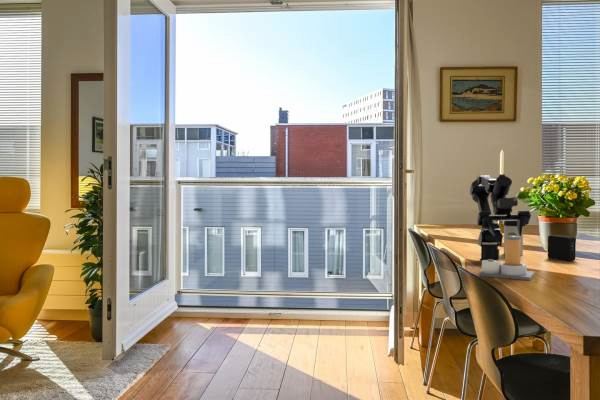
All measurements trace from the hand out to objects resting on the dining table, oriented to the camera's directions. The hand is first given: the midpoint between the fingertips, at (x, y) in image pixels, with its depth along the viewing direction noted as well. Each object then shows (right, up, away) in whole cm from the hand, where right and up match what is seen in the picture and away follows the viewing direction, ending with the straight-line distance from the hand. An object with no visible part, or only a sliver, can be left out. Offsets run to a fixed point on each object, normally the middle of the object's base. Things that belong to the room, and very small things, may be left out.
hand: (507, 235), depth 187 cm
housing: (-3, -14, -7) cm, 16 cm away
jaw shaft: (-1, -13, -7) cm, 15 cm away
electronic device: (+34, -12, +26) cm, 44 cm away
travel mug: (+20, -12, +42) cm, 48 cm away
